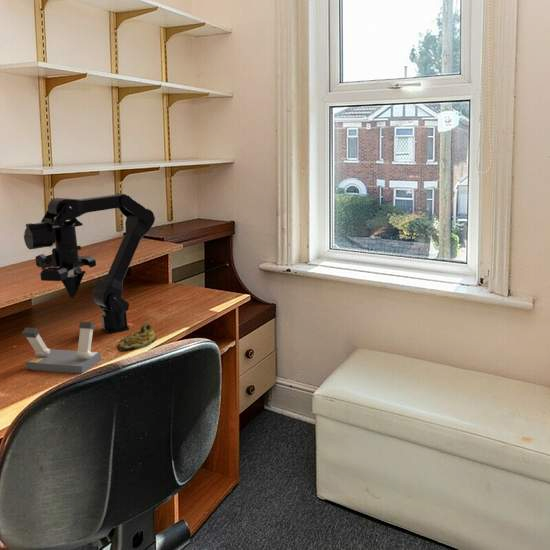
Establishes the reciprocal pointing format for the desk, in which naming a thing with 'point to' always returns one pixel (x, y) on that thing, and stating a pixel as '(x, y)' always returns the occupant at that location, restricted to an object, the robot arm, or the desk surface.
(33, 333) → the left lever
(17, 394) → the desk surface
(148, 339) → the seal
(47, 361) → the switch base
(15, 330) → the desk surface
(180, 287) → the desk surface
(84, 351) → the right lever
